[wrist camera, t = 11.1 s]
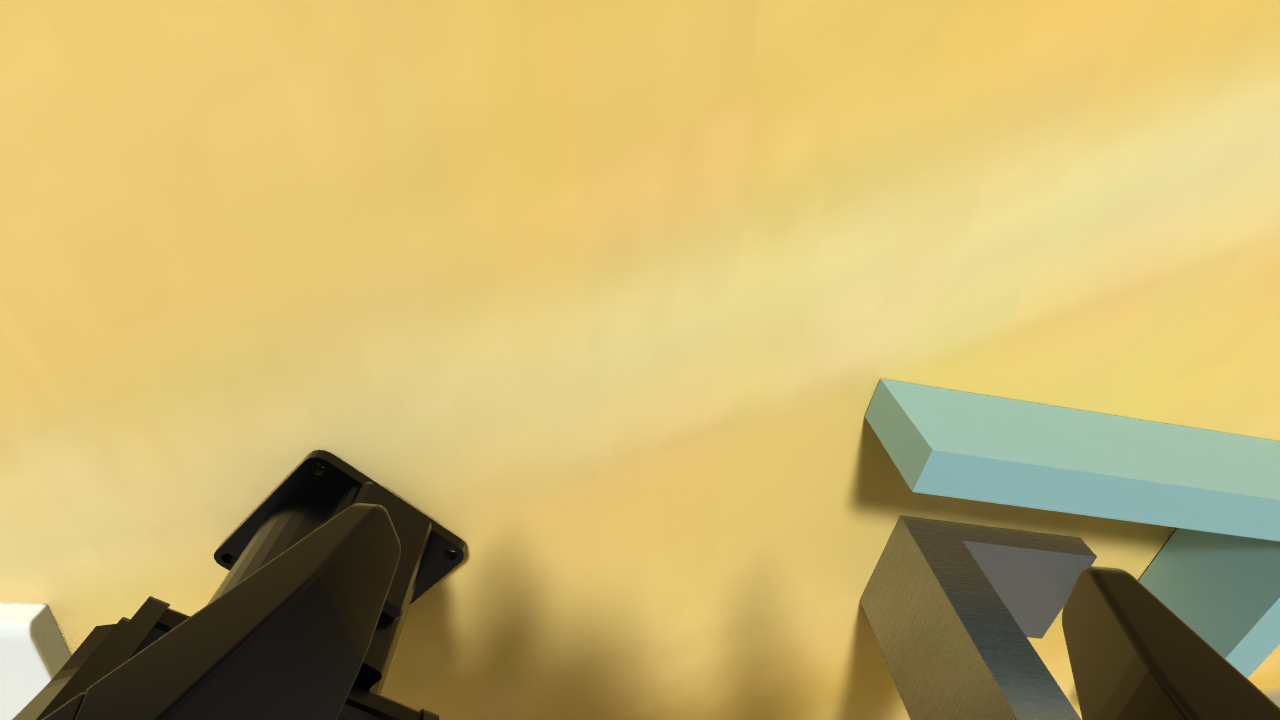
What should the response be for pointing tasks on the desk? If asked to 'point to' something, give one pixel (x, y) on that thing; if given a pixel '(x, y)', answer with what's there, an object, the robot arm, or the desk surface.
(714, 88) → the desk surface
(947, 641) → the grey l-shaped block
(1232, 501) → the teal corner wall
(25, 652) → the external hard drive
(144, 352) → the desk surface
